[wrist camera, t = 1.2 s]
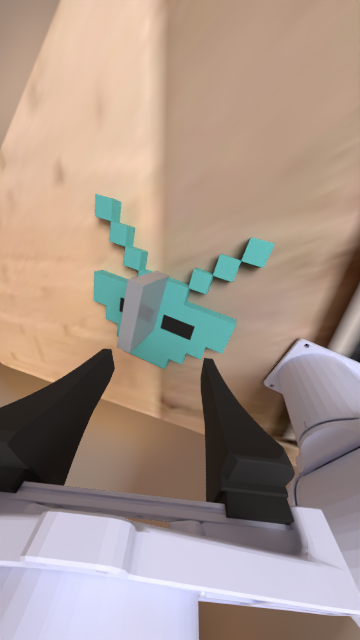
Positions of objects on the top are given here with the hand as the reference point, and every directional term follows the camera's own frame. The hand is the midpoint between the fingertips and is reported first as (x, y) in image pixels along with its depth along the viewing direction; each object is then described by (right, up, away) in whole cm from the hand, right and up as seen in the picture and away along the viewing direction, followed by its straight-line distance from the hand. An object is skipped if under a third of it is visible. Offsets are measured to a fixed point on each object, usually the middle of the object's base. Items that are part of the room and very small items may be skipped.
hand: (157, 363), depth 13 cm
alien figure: (0, +6, +11) cm, 13 cm away
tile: (-1, +6, +9) cm, 11 cm away
